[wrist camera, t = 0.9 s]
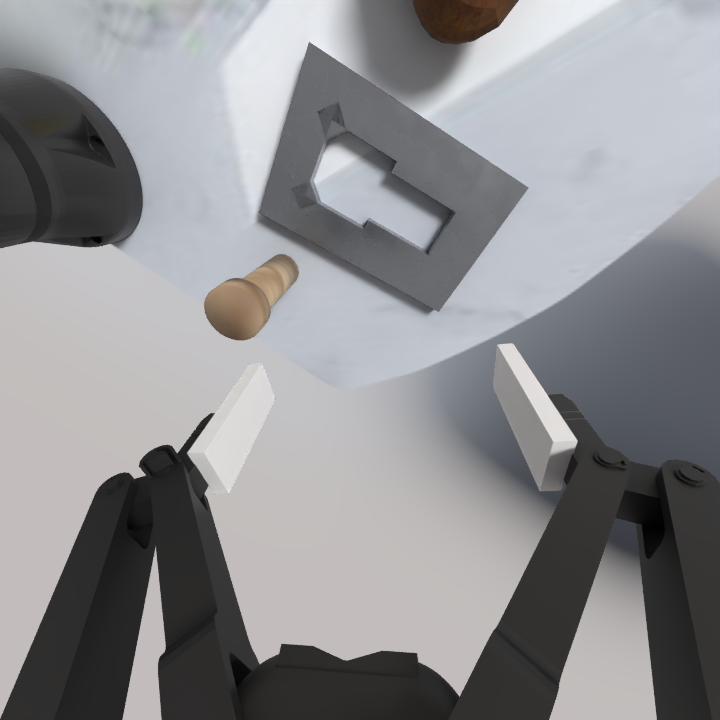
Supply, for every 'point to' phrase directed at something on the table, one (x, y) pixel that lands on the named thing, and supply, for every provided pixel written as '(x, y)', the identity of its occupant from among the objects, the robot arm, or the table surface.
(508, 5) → the potato
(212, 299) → the peg
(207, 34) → the table surface
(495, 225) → the keyhole plate
